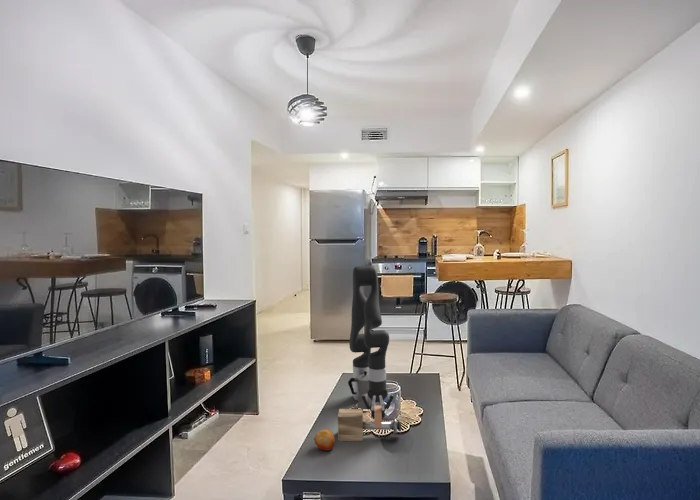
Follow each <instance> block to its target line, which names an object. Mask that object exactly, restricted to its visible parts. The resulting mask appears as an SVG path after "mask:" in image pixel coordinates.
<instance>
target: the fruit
mask: <svg viewBox="0 0 700 500" xmlns="http://www.w3.org/2000/svg"><path fill="white" fill-rule="evenodd" d="M313 440H314V444H315V445H316V448H317V449H318V450H319V451H330V450H332V449H333V447H334V445H335V435H334V434H333V432H332V431H331V430H330V429H327V428H325V429H321V430H319V431H318V432H317V433H316V434H315V436H314V439H313Z"/></svg>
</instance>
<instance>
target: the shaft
mask: <svg viewBox="0 0 700 500" xmlns="http://www.w3.org/2000/svg"><path fill="white" fill-rule="evenodd" d="M362 427H363V431H364V430H366V431H367V430H368V431H369V430H381V431H382V430H383V431H385V430H386V431H387V430H389V431H393V434H397V433H398V432H402V421H401V420H400V419H398V420H397V418H392V421H382V428H375V423H374V421H363V422H362Z"/></svg>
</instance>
